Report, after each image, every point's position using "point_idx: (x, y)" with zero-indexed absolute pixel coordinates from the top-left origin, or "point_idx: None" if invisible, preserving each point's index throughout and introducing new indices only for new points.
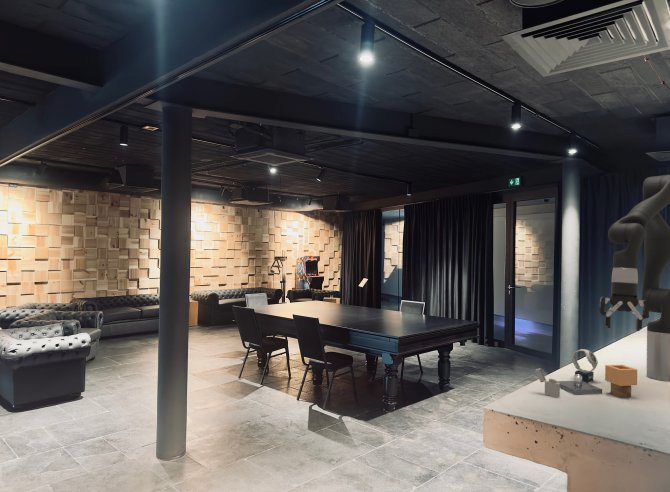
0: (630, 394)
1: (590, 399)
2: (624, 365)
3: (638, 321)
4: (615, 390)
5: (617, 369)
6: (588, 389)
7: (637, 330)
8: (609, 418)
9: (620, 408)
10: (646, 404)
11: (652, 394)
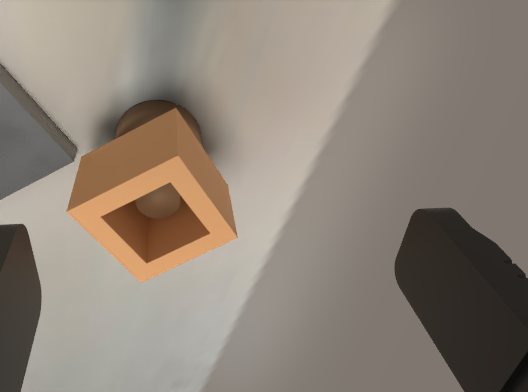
0: None
1: None
2: (189, 171)
3: (473, 389)
4: None
5: (130, 272)
6: (8, 193)
7: (399, 267)
8: (90, 366)
9: (131, 288)
10: None
11: (314, 62)
